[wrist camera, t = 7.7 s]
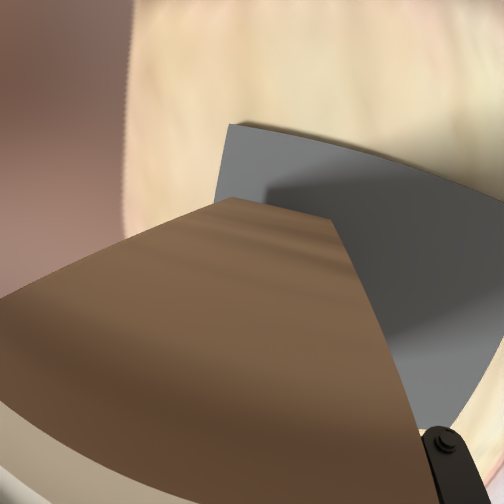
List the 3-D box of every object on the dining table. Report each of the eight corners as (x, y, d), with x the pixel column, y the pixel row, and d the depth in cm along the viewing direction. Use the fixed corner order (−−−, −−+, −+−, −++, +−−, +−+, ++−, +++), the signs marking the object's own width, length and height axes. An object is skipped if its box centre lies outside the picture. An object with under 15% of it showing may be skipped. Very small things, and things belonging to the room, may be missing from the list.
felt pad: (231, 125, 14) (228, 123, 13) (536, 219, 12) (543, 221, 11) (190, 379, 17) (187, 385, 17) (445, 424, 16) (448, 429, 15)
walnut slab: (231, 196, 13) (-97, 354, 1) (330, 219, 12) (453, 568, 1) (203, 361, 15) (81, 580, 3) (283, 382, 14) (233, 631, 3)
